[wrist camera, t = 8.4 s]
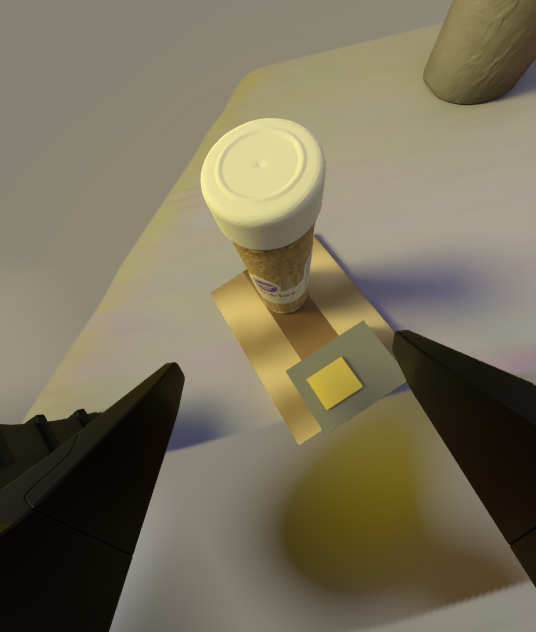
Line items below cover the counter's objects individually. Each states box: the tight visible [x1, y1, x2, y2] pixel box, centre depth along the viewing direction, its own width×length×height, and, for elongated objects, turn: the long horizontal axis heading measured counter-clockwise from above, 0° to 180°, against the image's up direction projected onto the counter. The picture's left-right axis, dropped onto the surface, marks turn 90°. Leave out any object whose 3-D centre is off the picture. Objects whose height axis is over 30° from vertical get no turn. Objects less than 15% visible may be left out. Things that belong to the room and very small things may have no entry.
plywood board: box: [210, 235, 398, 445], centre depth 20 cm, size 16×12×1 cm
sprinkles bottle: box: [201, 118, 326, 314], centre depth 14 cm, size 5×5×13 cm
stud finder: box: [286, 320, 407, 435], centre depth 16 cm, size 5×7×3 cm
